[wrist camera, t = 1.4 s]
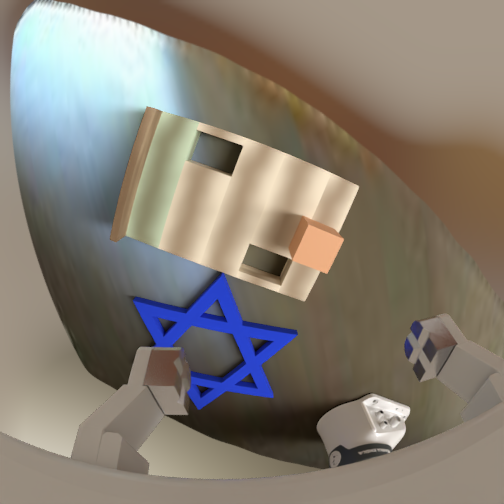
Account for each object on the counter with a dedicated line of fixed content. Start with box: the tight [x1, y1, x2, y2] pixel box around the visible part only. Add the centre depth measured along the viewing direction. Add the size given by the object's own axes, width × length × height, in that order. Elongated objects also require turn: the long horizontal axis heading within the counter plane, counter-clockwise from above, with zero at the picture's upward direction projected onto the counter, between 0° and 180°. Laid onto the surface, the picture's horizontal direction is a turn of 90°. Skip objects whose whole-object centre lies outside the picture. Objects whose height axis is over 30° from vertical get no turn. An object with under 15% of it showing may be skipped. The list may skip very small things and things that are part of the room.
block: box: [288, 216, 344, 274], centre depth 34 cm, size 4×4×4 cm
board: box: [110, 107, 359, 301], centre depth 35 cm, size 27×17×6 cm, turn 69°
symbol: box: [133, 272, 298, 410], centre depth 46 cm, size 26×2×30 cm
